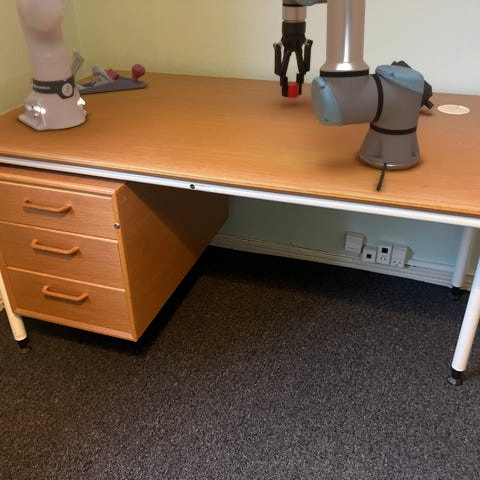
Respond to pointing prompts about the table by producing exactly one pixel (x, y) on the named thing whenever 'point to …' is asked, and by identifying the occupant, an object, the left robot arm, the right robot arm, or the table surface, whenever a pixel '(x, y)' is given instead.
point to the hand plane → (106, 77)
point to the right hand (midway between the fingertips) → (291, 94)
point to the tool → (427, 90)
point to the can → (293, 89)
